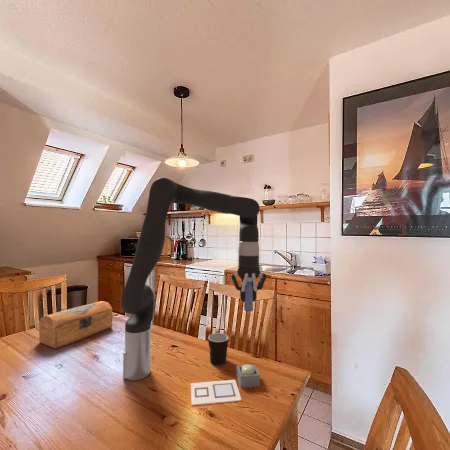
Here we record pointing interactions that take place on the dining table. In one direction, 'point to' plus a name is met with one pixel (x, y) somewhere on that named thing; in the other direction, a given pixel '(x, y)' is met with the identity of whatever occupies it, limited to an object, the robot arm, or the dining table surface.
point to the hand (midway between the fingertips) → (248, 301)
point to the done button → (247, 369)
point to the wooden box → (74, 324)
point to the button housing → (248, 378)
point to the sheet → (214, 392)
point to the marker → (248, 295)
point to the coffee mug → (218, 348)
